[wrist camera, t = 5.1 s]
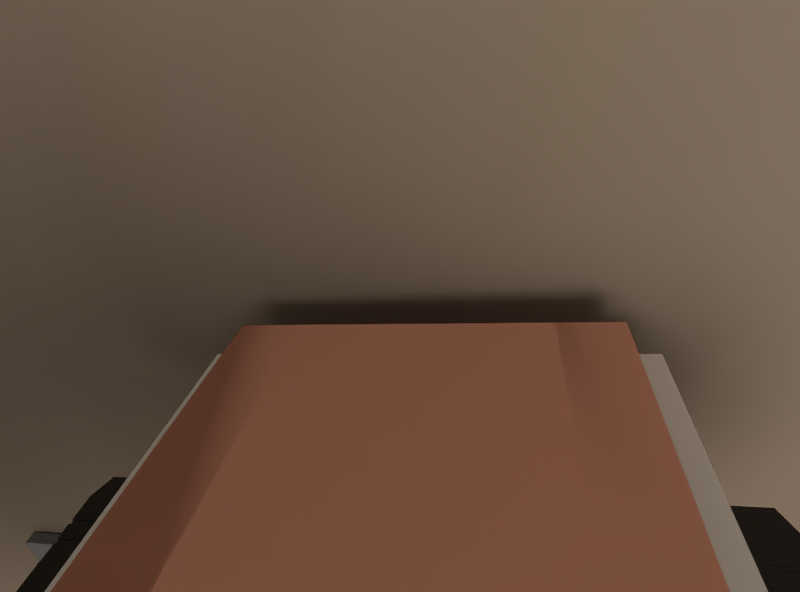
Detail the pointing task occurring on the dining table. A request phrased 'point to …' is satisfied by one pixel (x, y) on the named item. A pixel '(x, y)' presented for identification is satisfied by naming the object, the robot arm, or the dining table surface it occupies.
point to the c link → (411, 470)
